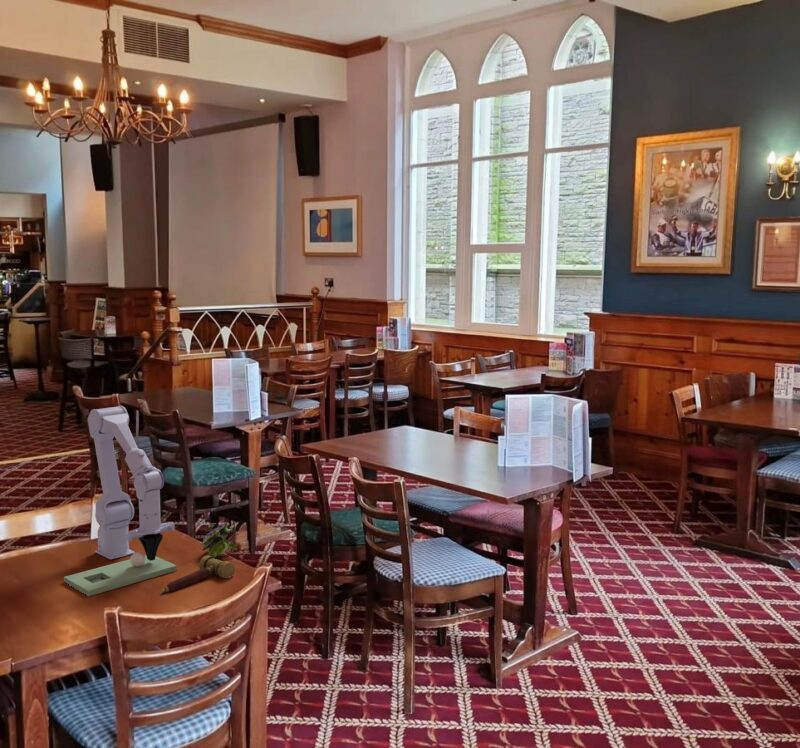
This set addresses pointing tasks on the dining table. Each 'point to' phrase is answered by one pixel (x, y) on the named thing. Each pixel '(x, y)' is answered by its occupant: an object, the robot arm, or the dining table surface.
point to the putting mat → (117, 575)
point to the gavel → (203, 573)
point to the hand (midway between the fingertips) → (151, 559)
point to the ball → (137, 559)
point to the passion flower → (218, 539)
